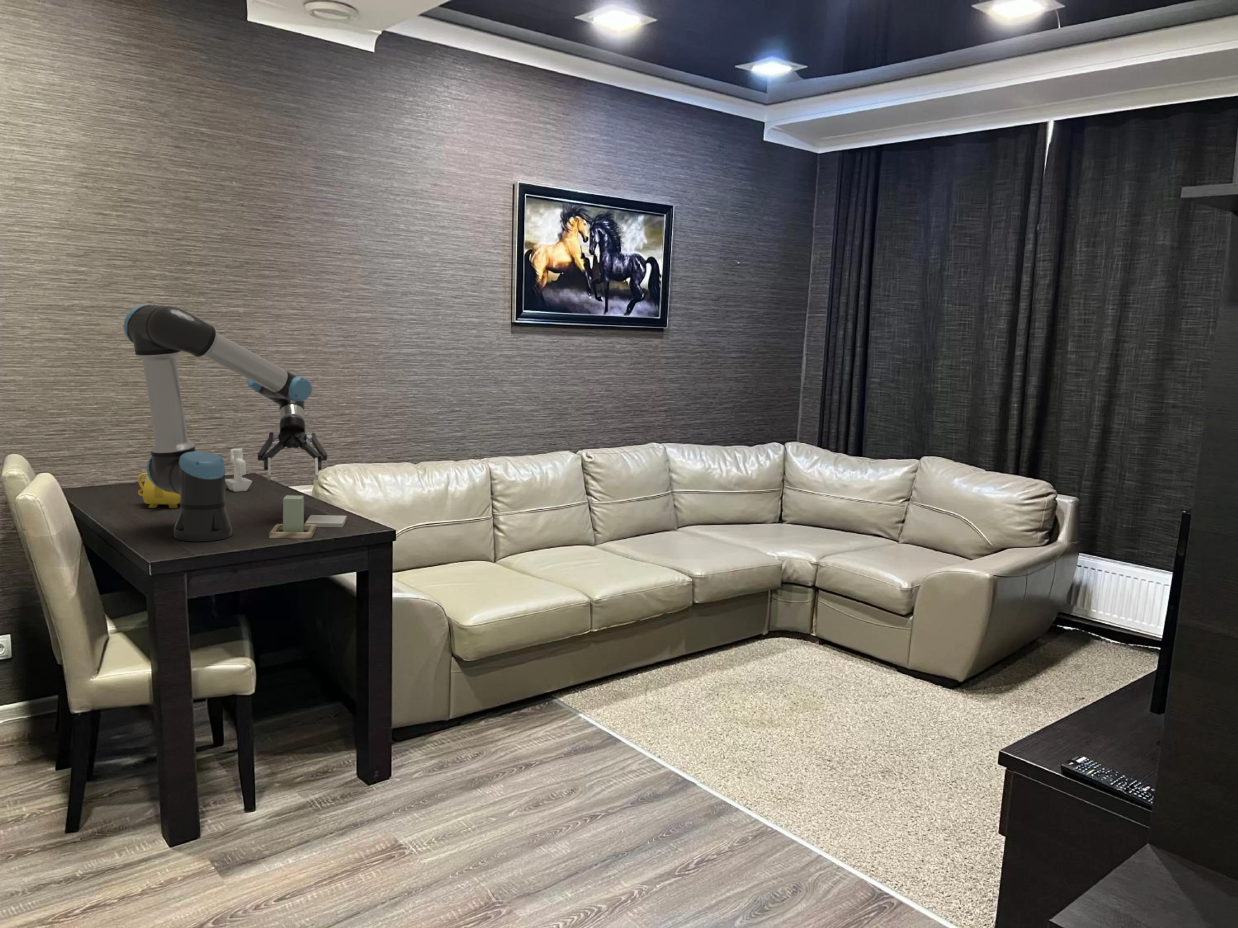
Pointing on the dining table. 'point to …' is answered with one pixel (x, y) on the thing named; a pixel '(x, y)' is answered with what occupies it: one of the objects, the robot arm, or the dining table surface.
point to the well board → (278, 527)
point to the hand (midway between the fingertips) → (293, 477)
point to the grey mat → (326, 520)
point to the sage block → (293, 513)
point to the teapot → (156, 494)
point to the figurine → (238, 472)
